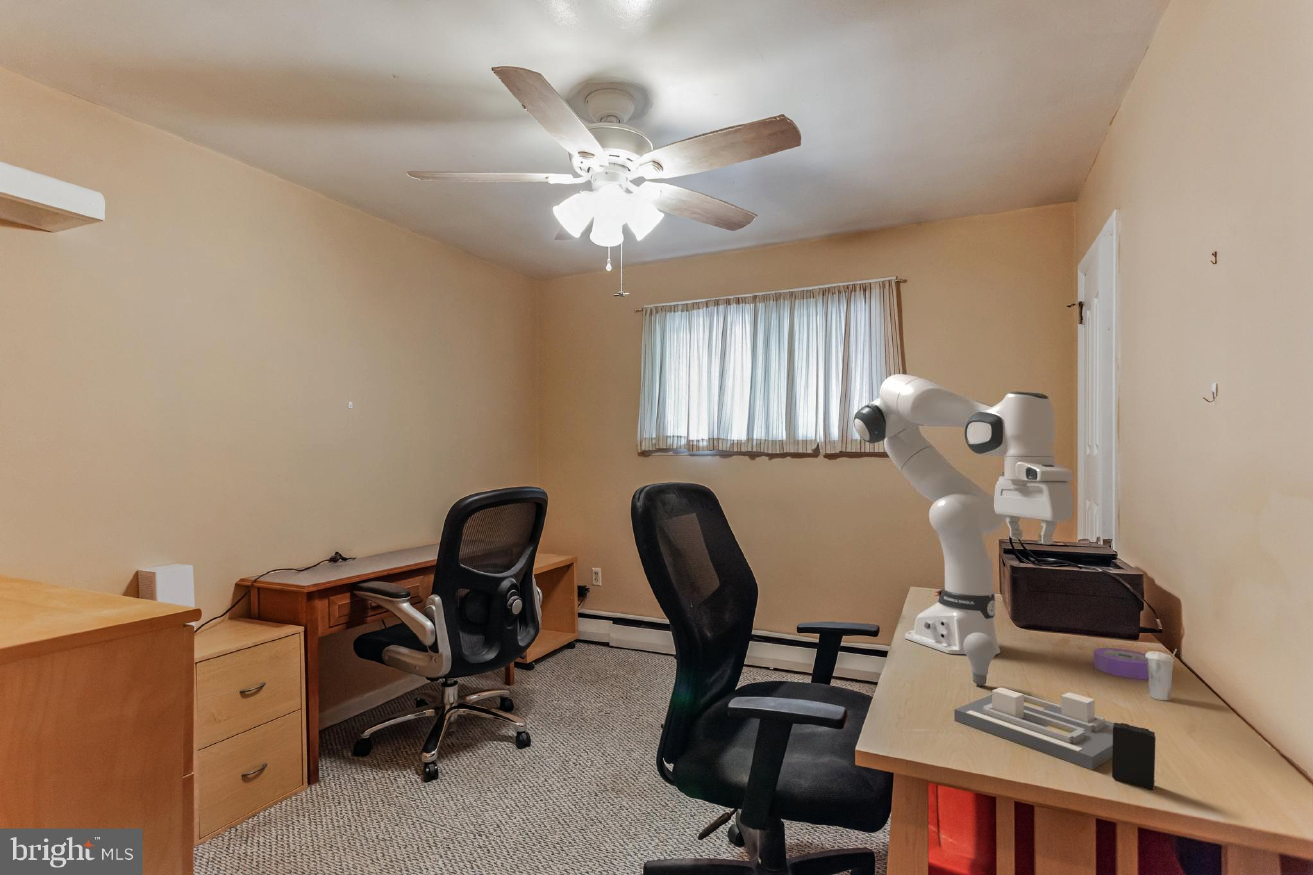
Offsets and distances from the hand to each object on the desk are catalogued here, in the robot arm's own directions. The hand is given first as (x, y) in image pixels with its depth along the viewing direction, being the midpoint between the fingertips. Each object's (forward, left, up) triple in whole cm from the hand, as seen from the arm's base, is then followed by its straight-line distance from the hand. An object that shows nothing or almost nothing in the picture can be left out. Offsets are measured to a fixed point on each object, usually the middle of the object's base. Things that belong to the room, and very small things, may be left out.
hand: (1030, 541), depth 127 cm
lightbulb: (-10, 0, -32) cm, 33 cm away
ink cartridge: (+24, -21, -32) cm, 45 cm away
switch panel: (+8, -13, -31) cm, 35 cm away
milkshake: (+14, +25, -32) cm, 43 cm away
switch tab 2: (+12, -9, -29) cm, 33 cm away
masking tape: (+3, +39, -32) cm, 50 cm away
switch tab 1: (+4, -17, -29) cm, 34 cm away
